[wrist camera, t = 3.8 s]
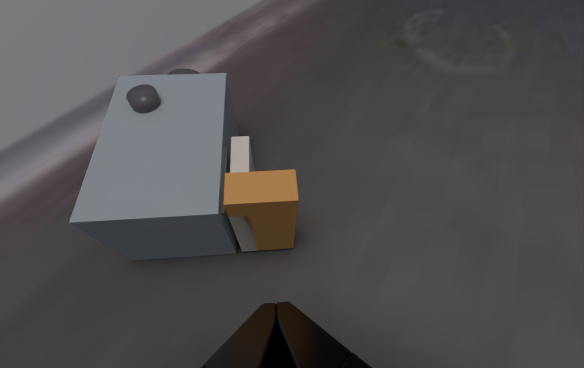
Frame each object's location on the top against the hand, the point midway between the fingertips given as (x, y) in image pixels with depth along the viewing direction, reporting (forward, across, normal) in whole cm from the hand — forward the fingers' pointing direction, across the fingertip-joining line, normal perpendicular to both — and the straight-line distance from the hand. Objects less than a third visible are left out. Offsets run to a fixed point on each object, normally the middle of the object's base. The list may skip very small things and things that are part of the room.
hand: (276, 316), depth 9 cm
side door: (+15, 0, -2) cm, 15 cm away
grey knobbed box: (+19, -7, +1) cm, 20 cm away
